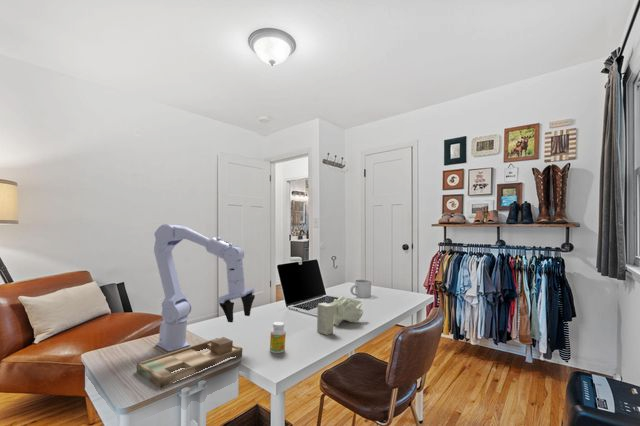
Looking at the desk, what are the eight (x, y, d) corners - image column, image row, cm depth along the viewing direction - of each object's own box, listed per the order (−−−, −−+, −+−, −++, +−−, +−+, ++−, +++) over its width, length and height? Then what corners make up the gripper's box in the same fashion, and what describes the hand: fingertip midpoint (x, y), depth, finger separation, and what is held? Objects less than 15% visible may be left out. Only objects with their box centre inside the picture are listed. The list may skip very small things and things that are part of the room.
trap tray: (136, 372, 90) (137, 363, 90) (216, 345, 113) (217, 337, 113) (160, 388, 82) (161, 378, 82) (242, 355, 105) (242, 348, 105)
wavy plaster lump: (345, 332, 153) (350, 302, 161) (364, 333, 144) (368, 300, 152) (318, 322, 144) (325, 290, 152) (337, 322, 135) (343, 288, 143)
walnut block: (210, 351, 102) (211, 340, 102) (222, 347, 106) (223, 337, 106) (219, 355, 99) (220, 344, 99) (232, 351, 103) (232, 340, 103)
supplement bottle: (270, 354, 107) (272, 326, 108) (268, 348, 113) (270, 321, 113) (285, 353, 109) (287, 325, 109) (283, 347, 114) (284, 320, 115)
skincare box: (333, 333, 132) (334, 305, 133) (326, 335, 129) (327, 306, 129) (322, 329, 136) (324, 302, 137) (315, 331, 133) (317, 303, 134)
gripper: (226, 284, 101) (229, 326, 100) (258, 276, 113) (261, 313, 112) (213, 284, 105) (216, 324, 104) (245, 276, 117) (248, 312, 116)
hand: (239, 318), depth 108 cm, fingers open, 7 cm apart
